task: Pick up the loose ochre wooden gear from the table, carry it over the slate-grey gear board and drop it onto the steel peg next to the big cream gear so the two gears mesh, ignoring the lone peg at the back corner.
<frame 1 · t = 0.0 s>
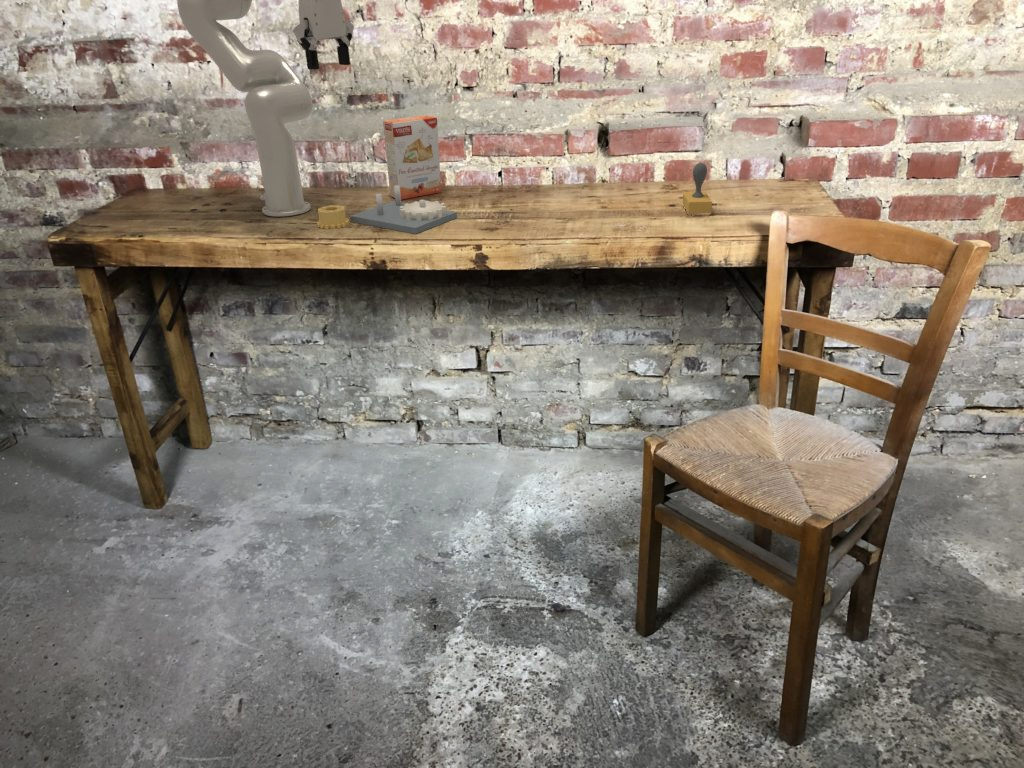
hand: (329, 66, 175), 37 cm above the table, tool pointing down, fingers open, 9 cm apart
gear board: (403, 219, 194), on the table
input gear: (333, 224, 192), on the table
rubber stamp: (696, 211, 194), on the table
cracker box: (416, 195, 216), on the table
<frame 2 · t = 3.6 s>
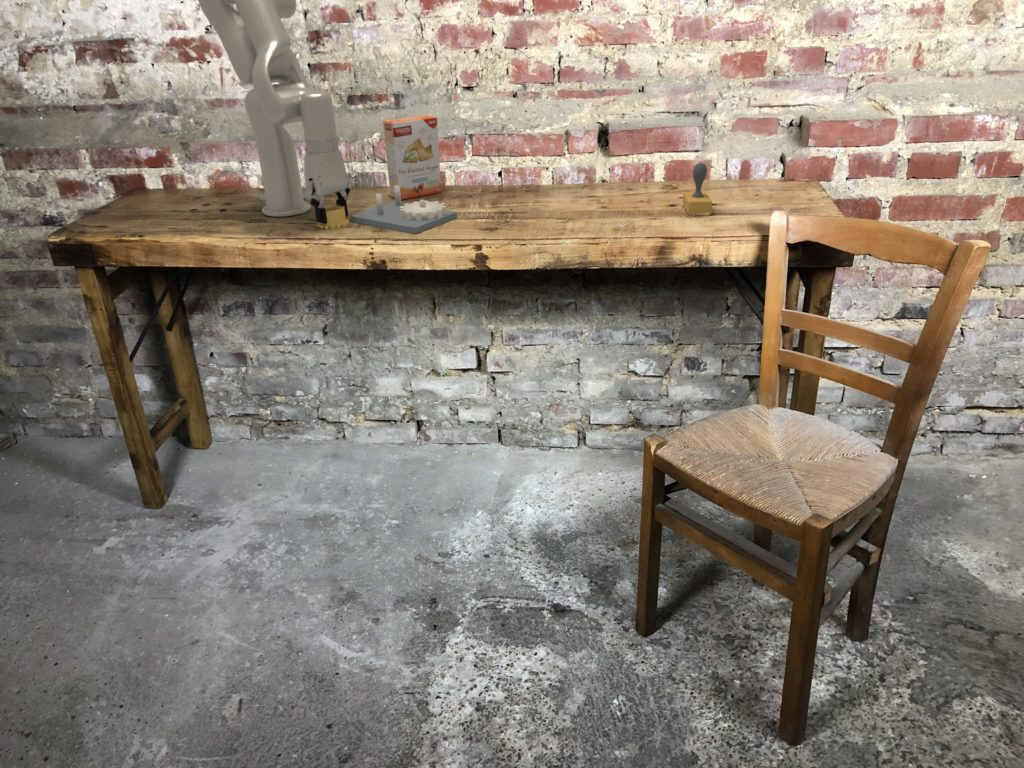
hand: (332, 218, 191), 1 cm above the table, tool pointing down, fingers closed on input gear, 6 cm apart
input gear: (333, 224, 192), on the table, touching gripper
everything else where it was.
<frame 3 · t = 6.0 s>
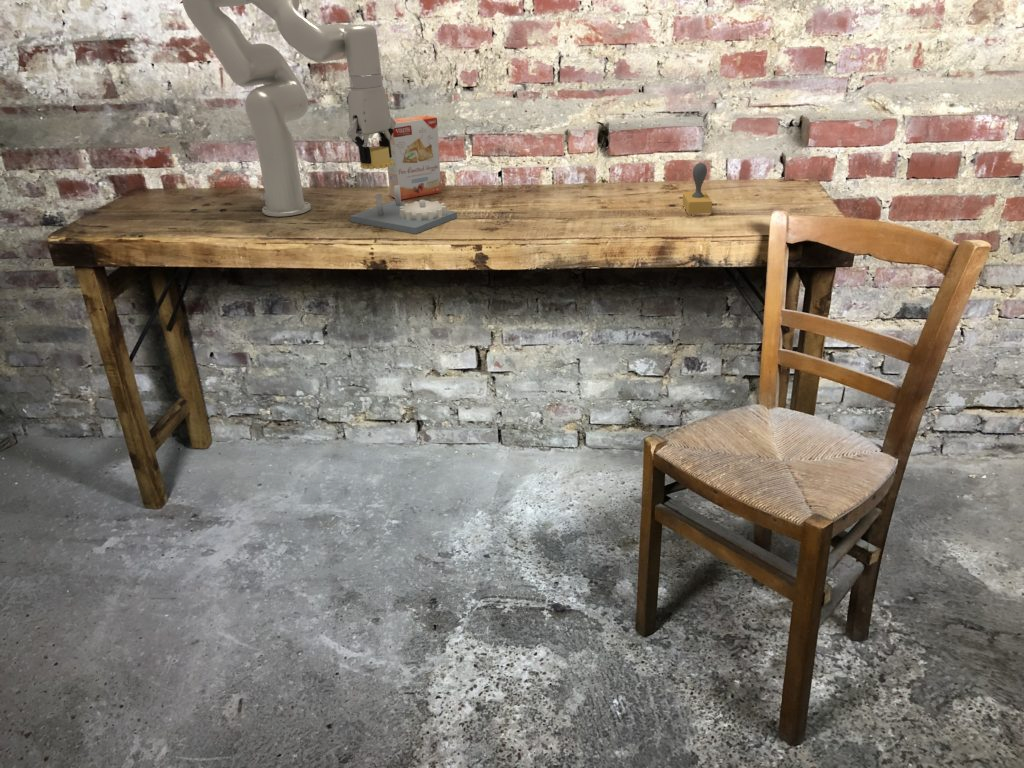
hand: (376, 159, 187), 15 cm above the table, tool pointing down, fingers closed on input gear, 6 cm apart
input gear: (377, 165, 188), point 14 cm above the table, touching gripper
everything else where it was.
when the fingers open (5 cm above the table, at t = 8.4 s): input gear drops 2 cm, resting on gear board.
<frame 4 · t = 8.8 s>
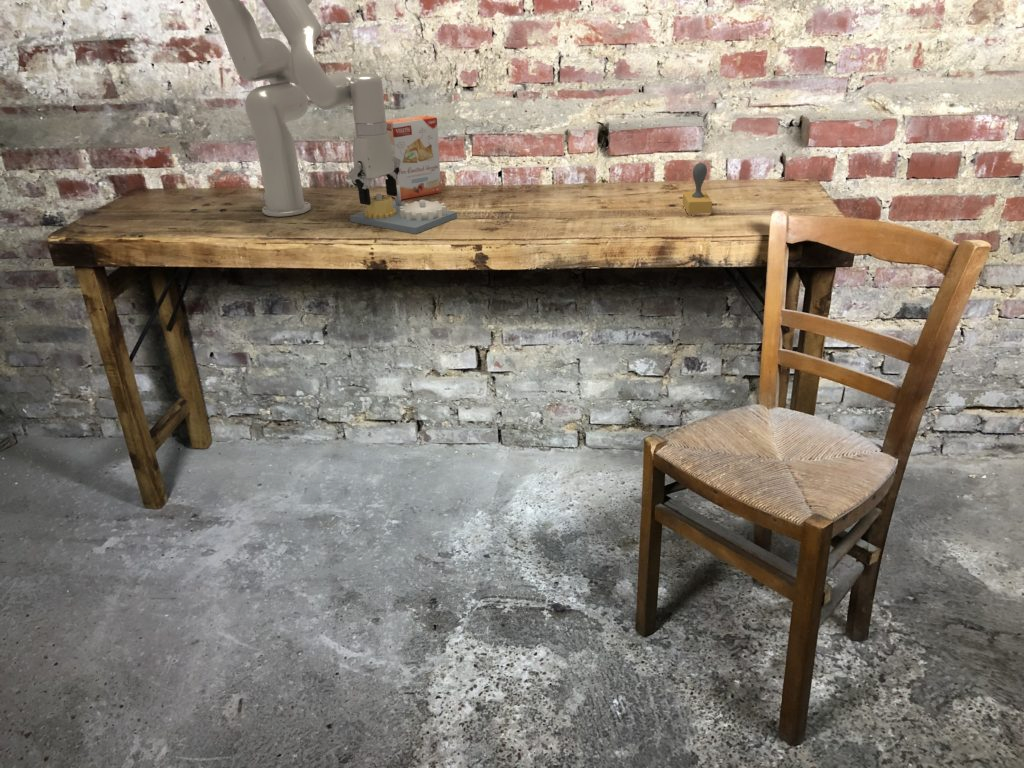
hand: (379, 199, 192), 5 cm above the table, tool pointing down, fingers open, 9 cm apart
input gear: (380, 214, 194), point 1 cm above the table, touching gear board
everything else where it was.
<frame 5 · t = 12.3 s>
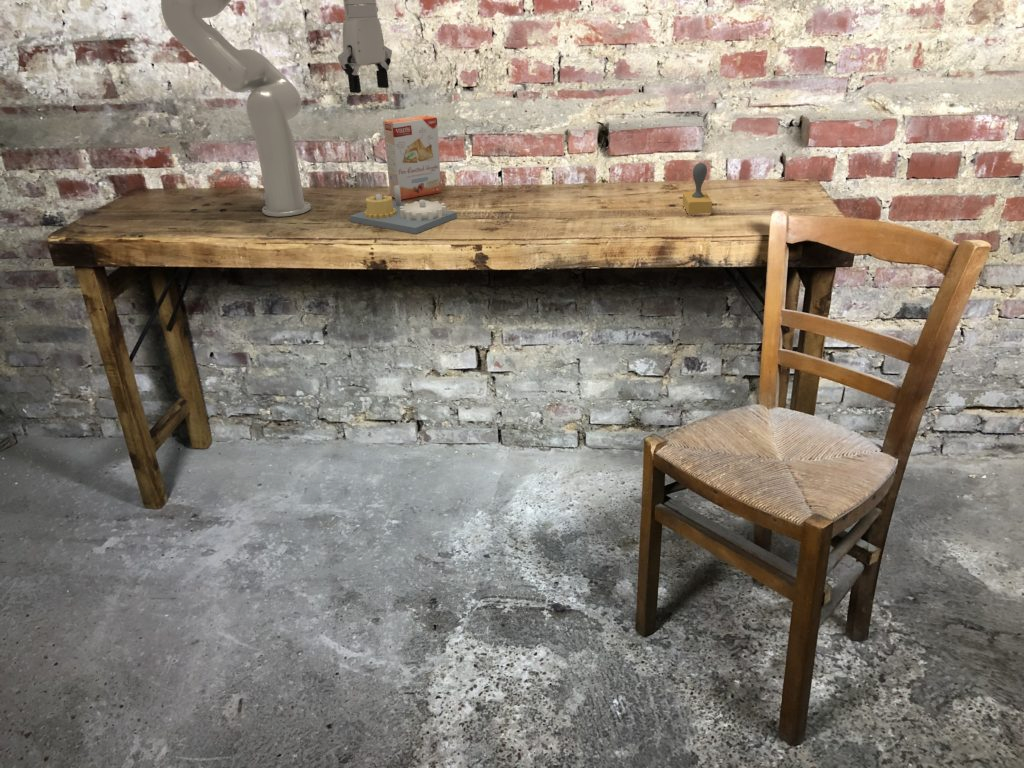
hand: (369, 90, 187), 30 cm above the table, tool pointing down, fingers open, 9 cm apart
nothing on the table moved.
at the end: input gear 0.0 cm from the target spot on the gear board, point 1.5 cm above the gear board's base; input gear tilted 0°; the gripper is holding nothing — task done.
